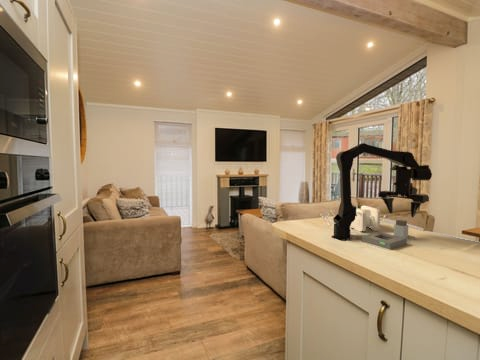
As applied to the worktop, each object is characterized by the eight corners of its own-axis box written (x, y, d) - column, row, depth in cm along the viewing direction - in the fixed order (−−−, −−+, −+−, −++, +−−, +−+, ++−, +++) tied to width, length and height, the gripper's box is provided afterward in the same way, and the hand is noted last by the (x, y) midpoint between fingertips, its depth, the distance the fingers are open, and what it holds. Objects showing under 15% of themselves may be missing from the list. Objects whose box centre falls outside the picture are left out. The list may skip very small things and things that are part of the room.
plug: (393, 237, 115) (394, 220, 115) (398, 236, 117) (399, 219, 117) (402, 240, 112) (403, 222, 111) (407, 238, 114) (408, 220, 113)
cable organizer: (381, 233, 124) (382, 209, 124) (361, 234, 123) (361, 210, 122) (363, 225, 139) (363, 204, 138) (344, 226, 138) (345, 205, 137)
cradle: (386, 238, 116) (386, 234, 116) (396, 235, 120) (396, 232, 120) (405, 243, 109) (405, 239, 109) (415, 240, 113) (415, 236, 113)
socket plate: (361, 242, 110) (362, 235, 110) (378, 238, 116) (378, 231, 116) (389, 250, 100) (390, 243, 100) (406, 245, 106) (406, 238, 106)
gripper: (436, 181, 109) (434, 217, 110) (391, 178, 125) (390, 210, 126) (422, 182, 103) (421, 220, 104) (378, 179, 119) (377, 212, 120)
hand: (401, 215), depth 114 cm, fingers open, 9 cm apart
